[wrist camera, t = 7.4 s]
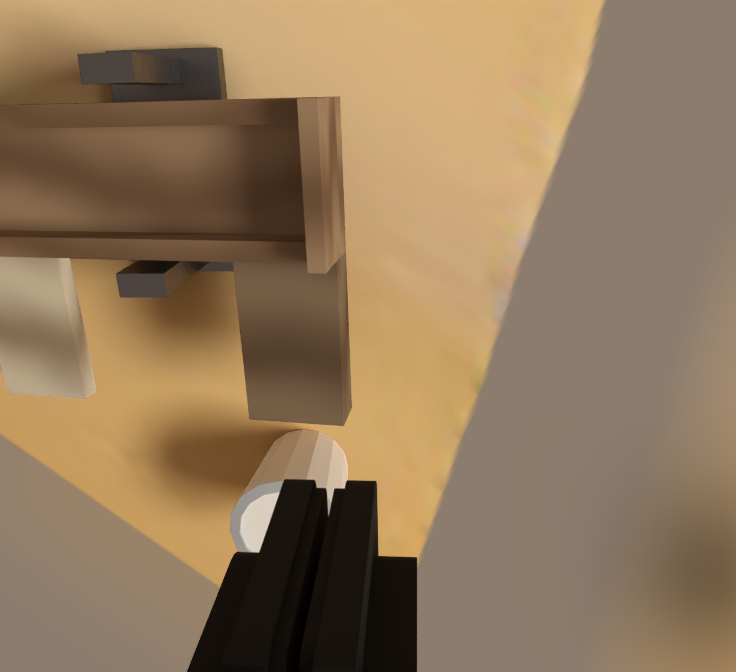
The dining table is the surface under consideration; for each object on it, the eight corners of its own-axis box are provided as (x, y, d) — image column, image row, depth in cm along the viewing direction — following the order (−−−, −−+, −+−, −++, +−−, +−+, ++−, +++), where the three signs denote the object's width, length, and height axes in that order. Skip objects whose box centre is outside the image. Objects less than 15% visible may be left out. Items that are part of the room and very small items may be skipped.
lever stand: (113, 52, 34) (34, 42, 27) (222, 48, 34) (170, 37, 27) (147, 267, 39) (86, 306, 31) (243, 266, 38) (204, 306, 31)
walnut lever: (-51, 106, 31) (-122, 108, 28) (339, 96, 28) (316, 98, 24) (19, 386, 37) (-32, 418, 33) (351, 407, 34) (334, 446, 30)
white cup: (246, 488, 44) (216, 558, 38) (272, 407, 42) (245, 466, 35) (338, 519, 44) (325, 593, 38) (371, 440, 42) (362, 505, 35)
